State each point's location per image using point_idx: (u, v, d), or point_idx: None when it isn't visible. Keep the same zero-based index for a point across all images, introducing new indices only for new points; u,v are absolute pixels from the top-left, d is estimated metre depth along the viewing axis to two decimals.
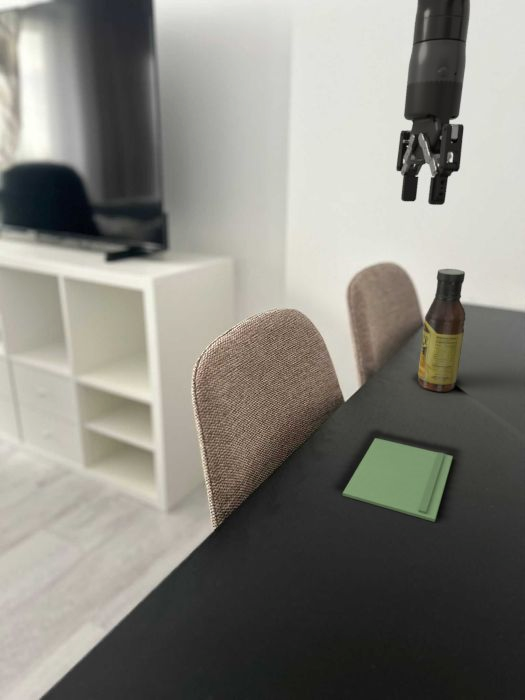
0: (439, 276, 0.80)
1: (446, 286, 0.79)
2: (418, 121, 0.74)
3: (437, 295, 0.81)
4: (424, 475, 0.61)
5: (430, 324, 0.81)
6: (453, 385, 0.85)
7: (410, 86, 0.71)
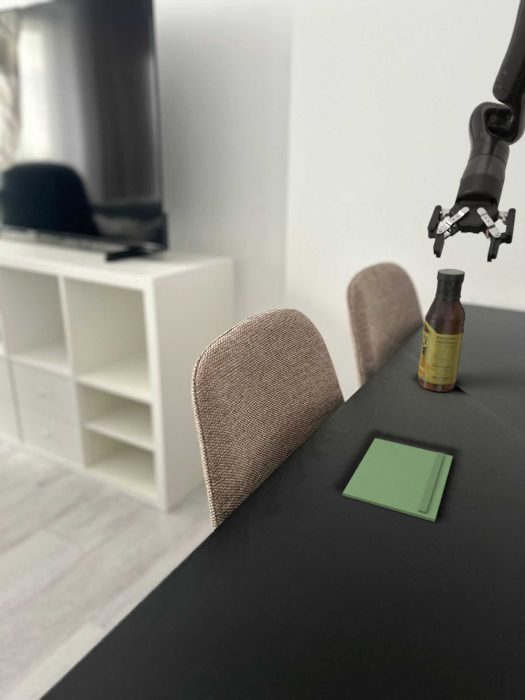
0: (439, 276, 0.80)
1: (446, 286, 0.79)
2: (468, 202, 0.93)
3: (437, 295, 0.81)
4: (424, 475, 0.61)
5: (430, 324, 0.81)
6: (453, 385, 0.85)
7: (482, 174, 0.92)
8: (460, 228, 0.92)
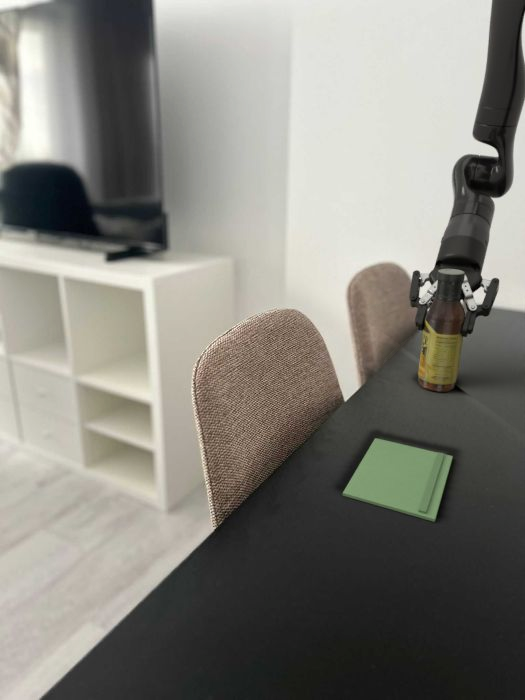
0: (439, 276, 0.80)
1: (446, 287, 0.79)
2: (449, 266, 0.86)
3: (437, 295, 0.81)
4: (424, 475, 0.61)
5: (430, 324, 0.81)
6: (453, 385, 0.85)
7: (463, 237, 0.84)
8: None
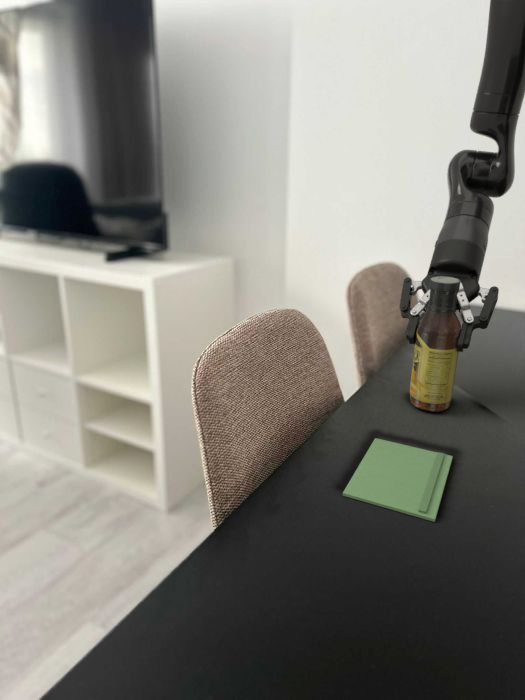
0: (431, 284, 0.72)
1: (440, 296, 0.71)
2: (444, 273, 0.78)
3: (430, 306, 0.73)
4: (424, 475, 0.61)
5: (422, 337, 0.74)
6: (448, 404, 0.77)
7: (459, 241, 0.77)
8: None
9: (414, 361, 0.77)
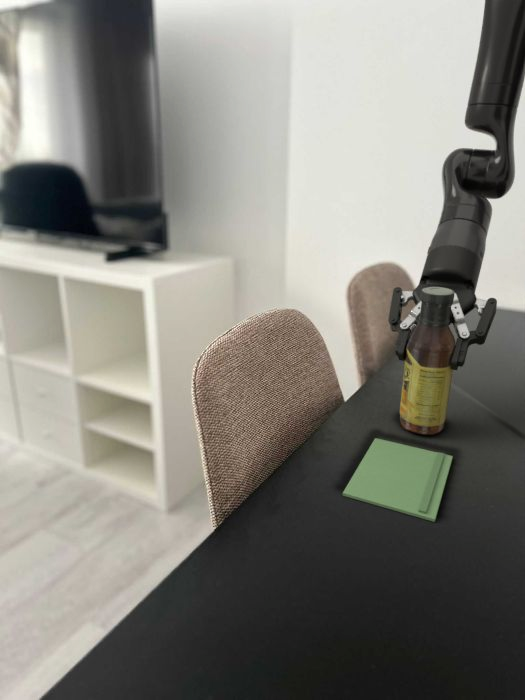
0: (422, 296, 0.65)
1: (432, 309, 0.65)
2: (437, 282, 0.71)
3: (421, 319, 0.66)
4: (424, 475, 0.61)
5: (413, 354, 0.67)
6: (441, 426, 0.70)
7: (454, 247, 0.70)
8: None
9: (404, 379, 0.70)
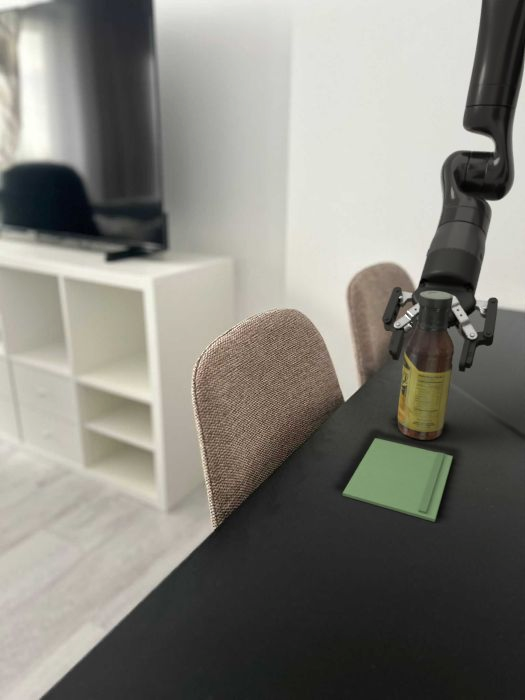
0: (420, 300, 0.64)
1: (430, 314, 0.64)
2: (436, 285, 0.70)
3: (419, 324, 0.66)
4: (424, 475, 0.61)
5: (411, 359, 0.66)
6: (439, 432, 0.70)
7: (453, 250, 0.69)
8: None
9: (402, 384, 0.69)
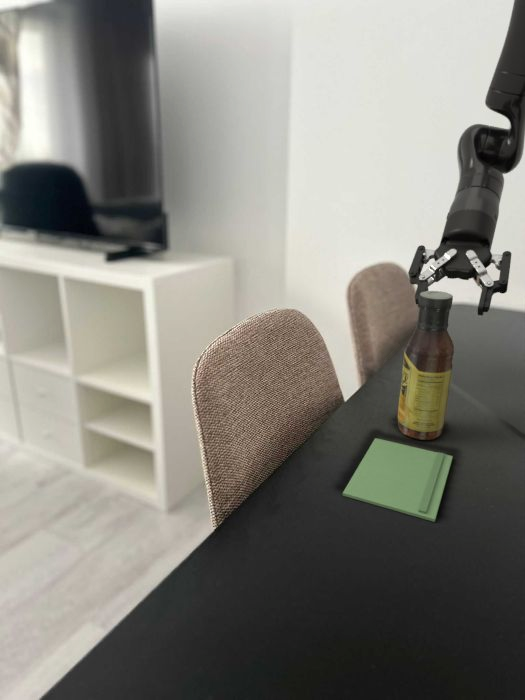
0: (420, 300, 0.64)
1: (430, 314, 0.64)
2: (456, 242, 0.80)
3: (419, 324, 0.66)
4: (424, 475, 0.61)
5: (411, 359, 0.66)
6: (439, 432, 0.70)
7: (471, 211, 0.78)
8: (446, 273, 0.79)
9: (402, 384, 0.69)
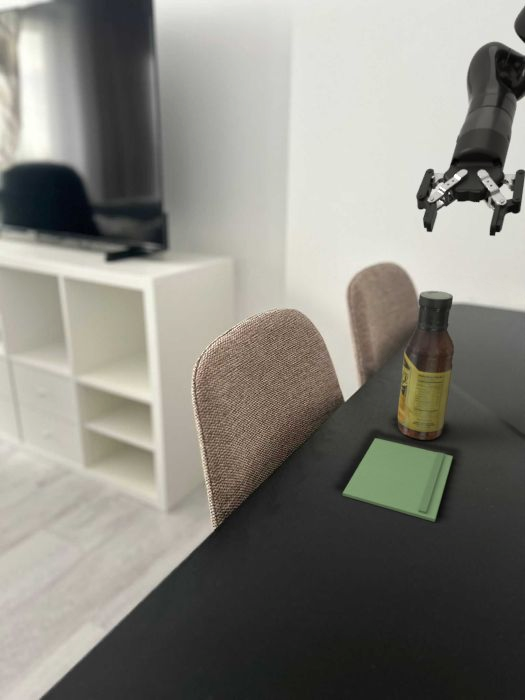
0: (420, 300, 0.64)
1: (430, 314, 0.64)
2: (467, 164, 0.76)
3: (419, 324, 0.66)
4: (424, 475, 0.61)
5: (411, 359, 0.66)
6: (439, 432, 0.70)
7: (483, 129, 0.75)
8: (456, 196, 0.75)
9: (402, 384, 0.69)
